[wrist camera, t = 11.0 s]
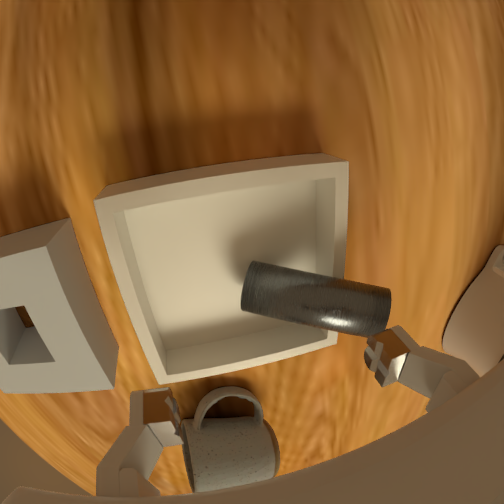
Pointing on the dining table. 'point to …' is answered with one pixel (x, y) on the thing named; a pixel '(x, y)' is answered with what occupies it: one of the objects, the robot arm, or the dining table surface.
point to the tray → (222, 256)
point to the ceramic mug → (228, 445)
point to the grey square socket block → (51, 316)
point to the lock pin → (315, 300)
